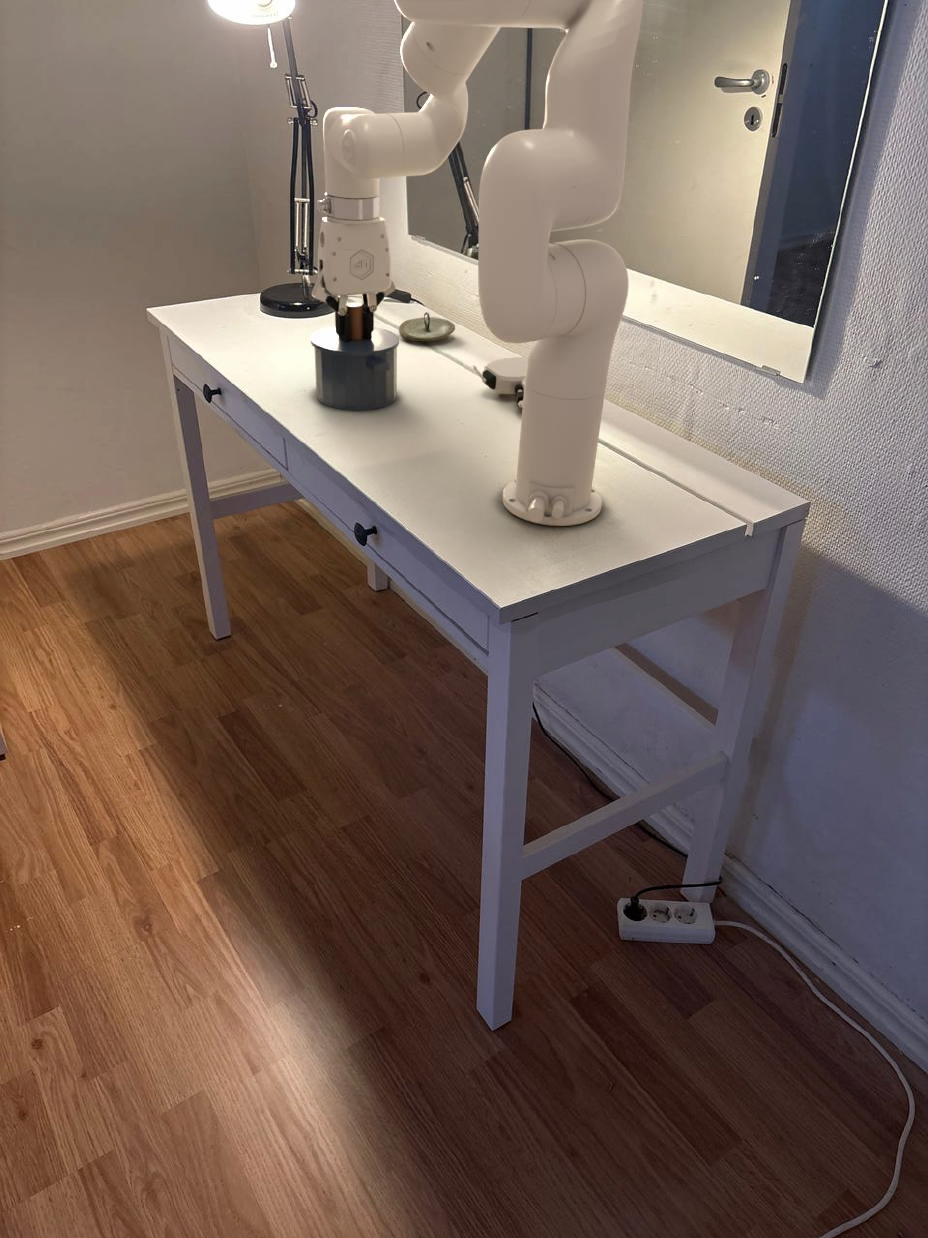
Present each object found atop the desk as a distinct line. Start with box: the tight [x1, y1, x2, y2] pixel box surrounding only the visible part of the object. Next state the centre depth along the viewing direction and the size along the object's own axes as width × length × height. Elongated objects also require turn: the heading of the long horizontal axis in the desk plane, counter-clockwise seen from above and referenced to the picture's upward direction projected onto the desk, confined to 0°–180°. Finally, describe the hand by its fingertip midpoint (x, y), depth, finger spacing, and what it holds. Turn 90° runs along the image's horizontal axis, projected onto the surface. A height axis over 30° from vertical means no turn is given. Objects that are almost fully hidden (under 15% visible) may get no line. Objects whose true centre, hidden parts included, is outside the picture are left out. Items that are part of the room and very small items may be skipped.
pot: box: [313, 346, 398, 411], centre depth 143 cm, size 12×18×8 cm
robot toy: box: [472, 356, 528, 409], centre depth 147 cm, size 12×4×15 cm
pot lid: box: [310, 302, 400, 356], centre depth 139 cm, size 13×13×6 cm
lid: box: [398, 311, 456, 342], centre depth 171 cm, size 11×10×5 cm
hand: (354, 336), depth 140 cm, fingers closed
